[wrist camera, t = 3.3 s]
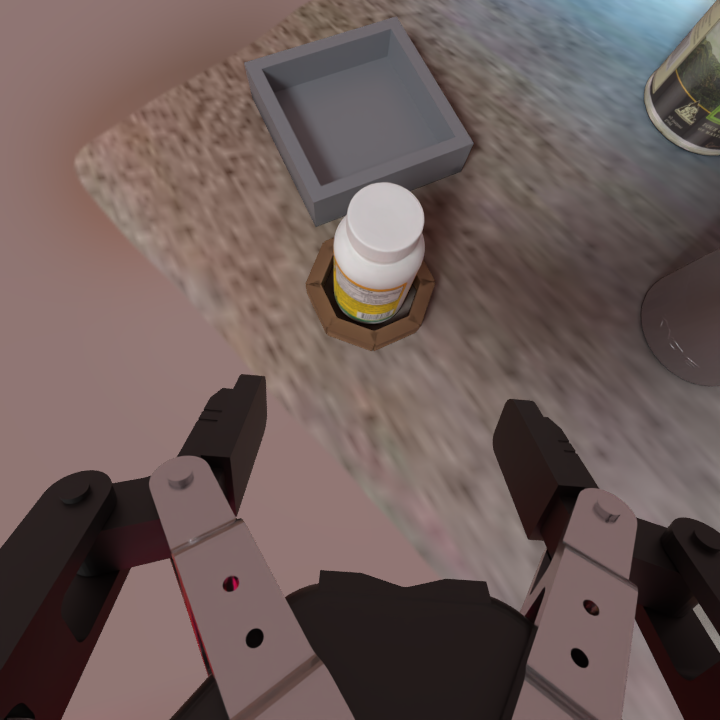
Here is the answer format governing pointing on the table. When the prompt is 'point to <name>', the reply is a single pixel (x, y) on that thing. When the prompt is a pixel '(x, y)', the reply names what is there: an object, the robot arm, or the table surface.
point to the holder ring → (352, 331)
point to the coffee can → (690, 89)
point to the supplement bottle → (377, 252)
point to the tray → (357, 116)
